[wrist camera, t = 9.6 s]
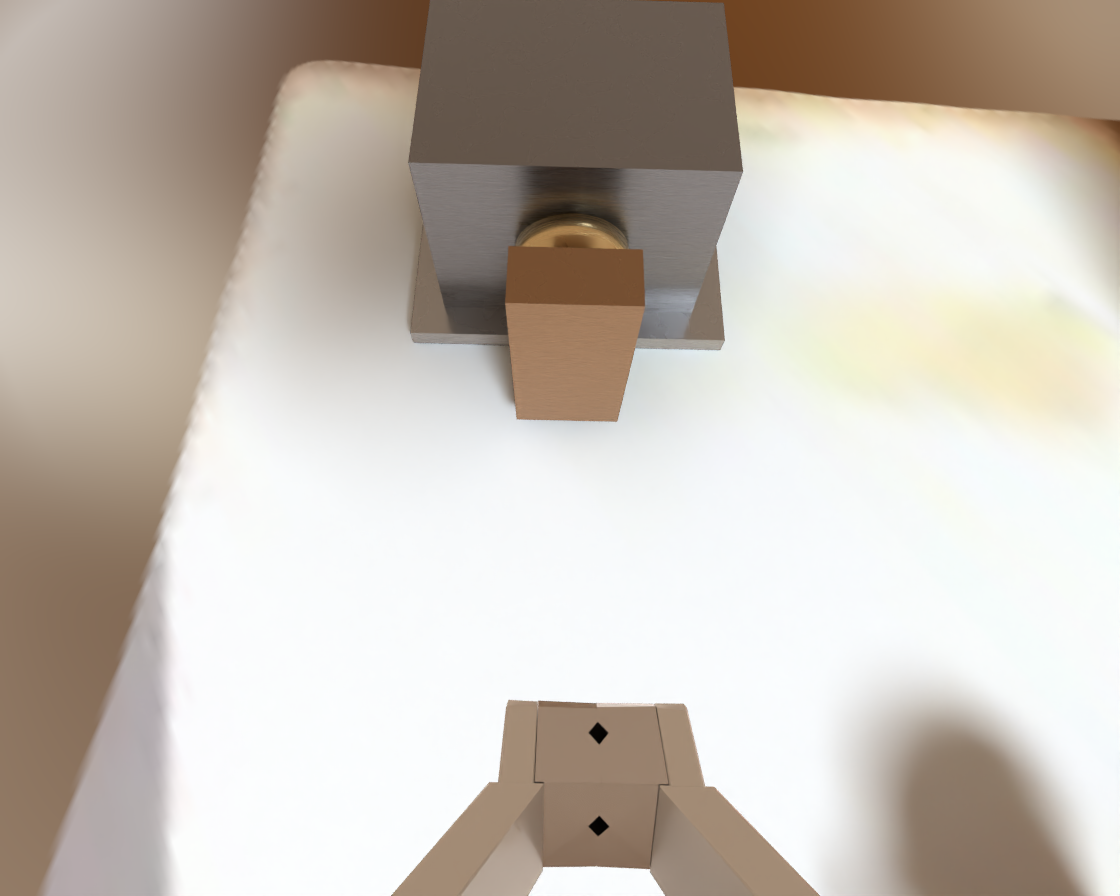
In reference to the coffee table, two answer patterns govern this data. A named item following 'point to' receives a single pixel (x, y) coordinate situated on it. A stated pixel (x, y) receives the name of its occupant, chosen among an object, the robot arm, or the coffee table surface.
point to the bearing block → (573, 153)
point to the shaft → (572, 317)
